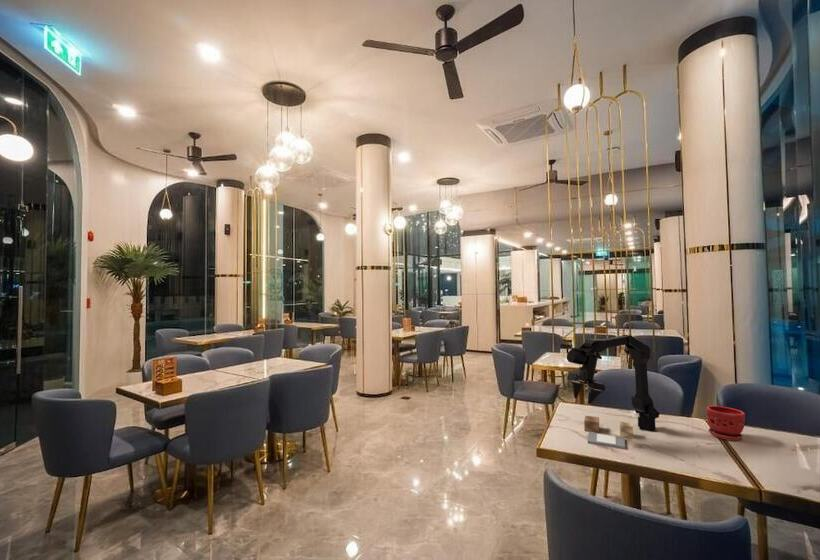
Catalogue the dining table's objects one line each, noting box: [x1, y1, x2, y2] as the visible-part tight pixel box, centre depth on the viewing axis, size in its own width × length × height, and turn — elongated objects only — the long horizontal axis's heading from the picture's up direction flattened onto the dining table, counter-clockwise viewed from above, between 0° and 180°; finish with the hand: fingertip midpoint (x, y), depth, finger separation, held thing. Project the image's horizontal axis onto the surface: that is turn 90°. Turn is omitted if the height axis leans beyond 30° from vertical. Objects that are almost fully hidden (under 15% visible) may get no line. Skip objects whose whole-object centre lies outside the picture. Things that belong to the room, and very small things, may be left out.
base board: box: [587, 432, 626, 450], centre depth 166 cm, size 14×11×1 cm
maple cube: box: [619, 421, 634, 439], centre depth 173 cm, size 5×5×5 cm
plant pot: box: [706, 405, 746, 441], centre depth 170 cm, size 13×13×12 cm
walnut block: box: [583, 415, 600, 434], centre depth 180 cm, size 6×8×5 cm
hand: (582, 400), depth 173 cm, fingers open, 9 cm apart
